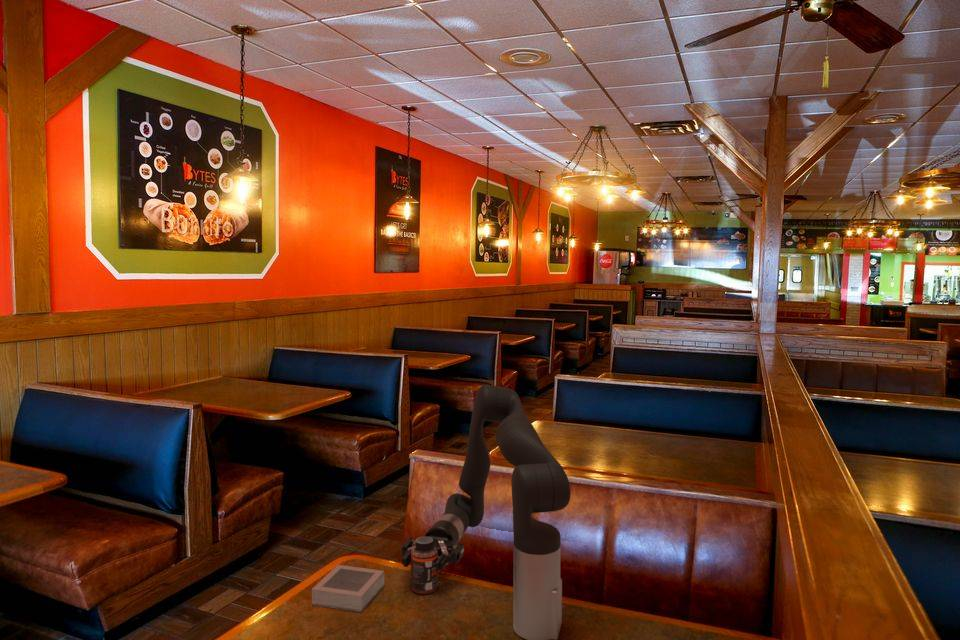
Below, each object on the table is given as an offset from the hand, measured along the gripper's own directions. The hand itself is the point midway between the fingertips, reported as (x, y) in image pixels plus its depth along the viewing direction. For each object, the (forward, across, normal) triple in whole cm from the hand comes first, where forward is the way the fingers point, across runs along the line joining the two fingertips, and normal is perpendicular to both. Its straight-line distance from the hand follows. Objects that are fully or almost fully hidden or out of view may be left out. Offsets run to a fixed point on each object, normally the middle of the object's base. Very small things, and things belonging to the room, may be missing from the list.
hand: (420, 564), depth 139 cm
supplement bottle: (-2, 0, +7) cm, 7 cm away
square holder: (+5, -15, +6) cm, 17 cm away
